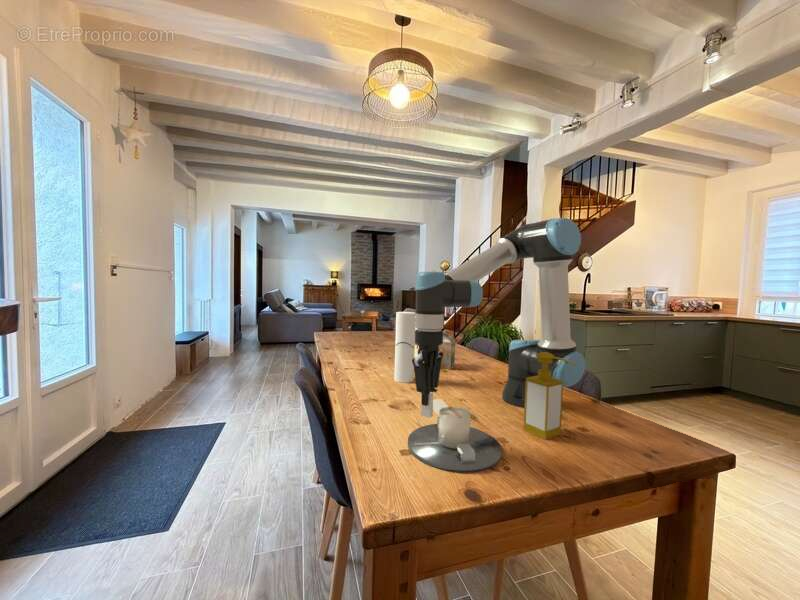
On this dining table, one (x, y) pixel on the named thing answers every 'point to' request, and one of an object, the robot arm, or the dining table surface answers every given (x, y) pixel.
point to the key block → (452, 424)
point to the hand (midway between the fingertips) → (426, 415)
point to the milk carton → (447, 351)
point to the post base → (454, 450)
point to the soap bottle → (543, 401)
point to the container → (404, 347)
